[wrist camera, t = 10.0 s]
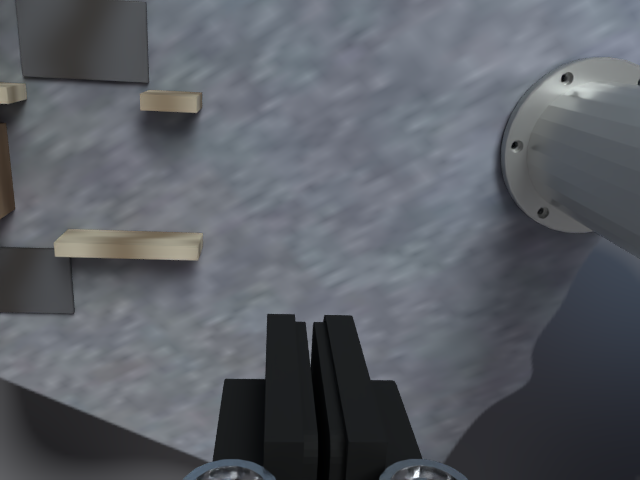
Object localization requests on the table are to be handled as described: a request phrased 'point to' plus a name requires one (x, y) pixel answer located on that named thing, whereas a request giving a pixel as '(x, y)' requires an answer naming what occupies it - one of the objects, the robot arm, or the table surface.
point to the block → (5, 175)
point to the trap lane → (93, 64)
